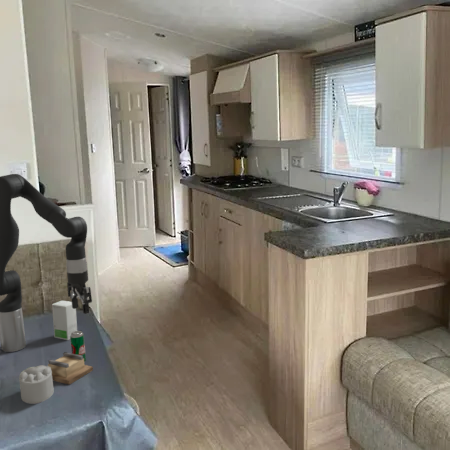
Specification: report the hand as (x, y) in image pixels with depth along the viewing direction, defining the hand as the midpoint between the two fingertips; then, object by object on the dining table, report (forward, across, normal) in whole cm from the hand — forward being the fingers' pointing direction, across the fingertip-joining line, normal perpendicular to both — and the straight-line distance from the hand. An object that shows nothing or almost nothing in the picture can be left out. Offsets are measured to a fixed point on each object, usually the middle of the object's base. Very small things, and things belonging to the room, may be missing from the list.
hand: (80, 310), depth 191 cm
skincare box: (+21, -30, +7) cm, 38 cm away
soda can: (+21, -1, -2) cm, 21 cm away
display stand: (+21, +5, -10) cm, 24 cm away
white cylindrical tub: (+21, +11, -24) cm, 34 cm away
